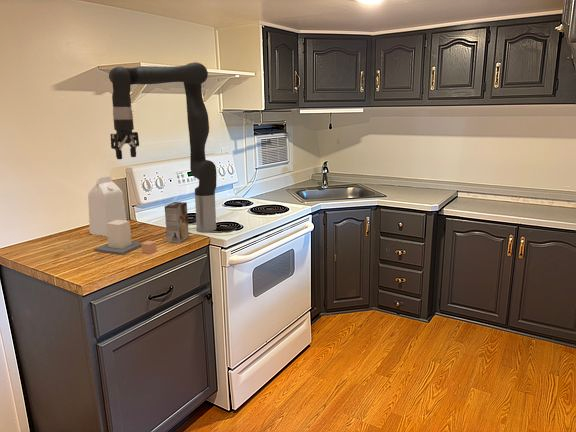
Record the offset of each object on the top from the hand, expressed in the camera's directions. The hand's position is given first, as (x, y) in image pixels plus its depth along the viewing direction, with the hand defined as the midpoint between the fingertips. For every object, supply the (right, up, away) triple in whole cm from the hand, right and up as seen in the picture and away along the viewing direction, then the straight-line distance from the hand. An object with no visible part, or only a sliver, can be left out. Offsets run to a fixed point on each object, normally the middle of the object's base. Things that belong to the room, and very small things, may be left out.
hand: (126, 158), depth 184 cm
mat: (-2, -37, -1) cm, 38 cm away
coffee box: (+19, -35, +10) cm, 41 cm away
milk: (-16, -32, +22) cm, 42 cm away
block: (+11, -39, -6) cm, 41 cm away
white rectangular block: (-2, -36, -1) cm, 37 cm away
